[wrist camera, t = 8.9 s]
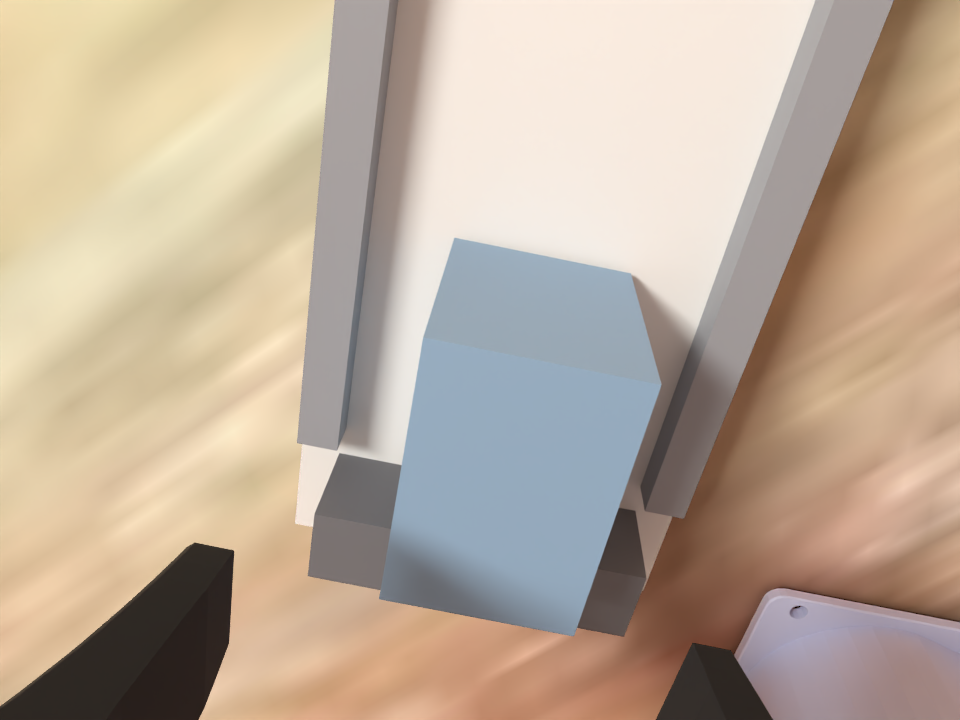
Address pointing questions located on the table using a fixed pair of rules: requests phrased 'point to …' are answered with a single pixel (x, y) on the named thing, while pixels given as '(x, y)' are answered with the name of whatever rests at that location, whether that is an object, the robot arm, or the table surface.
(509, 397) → the block
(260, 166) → the table surface
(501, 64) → the rail board
